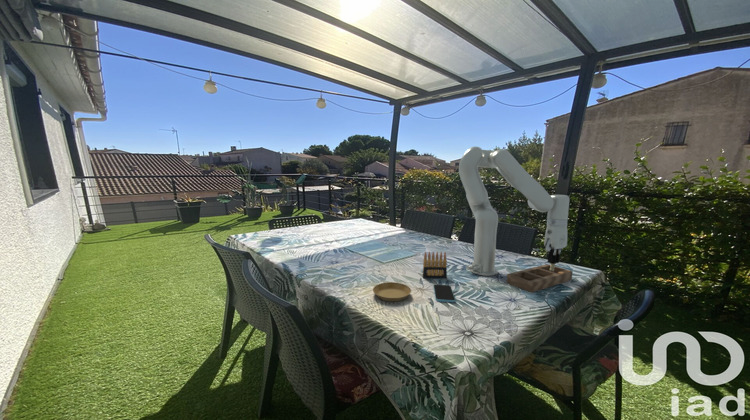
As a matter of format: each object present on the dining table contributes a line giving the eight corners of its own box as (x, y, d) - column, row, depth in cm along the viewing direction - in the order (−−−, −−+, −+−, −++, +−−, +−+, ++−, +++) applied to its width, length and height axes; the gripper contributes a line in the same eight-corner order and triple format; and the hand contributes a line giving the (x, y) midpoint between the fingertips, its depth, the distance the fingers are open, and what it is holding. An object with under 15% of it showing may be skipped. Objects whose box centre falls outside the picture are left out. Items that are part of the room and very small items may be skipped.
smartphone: (450, 285, 113) (456, 300, 99) (450, 287, 113) (455, 303, 99) (433, 284, 114) (435, 299, 100) (433, 286, 114) (435, 302, 100)
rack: (531, 292, 107) (532, 281, 107) (506, 282, 117) (507, 273, 116) (571, 279, 121) (572, 270, 120) (546, 272, 130) (547, 263, 130)
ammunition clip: (423, 278, 123) (423, 252, 121) (422, 276, 125) (423, 251, 123) (446, 278, 122) (447, 252, 121) (445, 276, 124) (446, 251, 123)
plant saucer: (367, 291, 109) (367, 285, 108) (399, 285, 114) (399, 279, 114) (382, 307, 95) (382, 300, 95) (418, 300, 101) (418, 293, 101)
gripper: (555, 225, 113) (551, 267, 115) (575, 222, 120) (571, 262, 123) (537, 222, 120) (534, 262, 122) (558, 220, 127) (554, 258, 129)
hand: (553, 262), depth 122 cm, fingers closed
